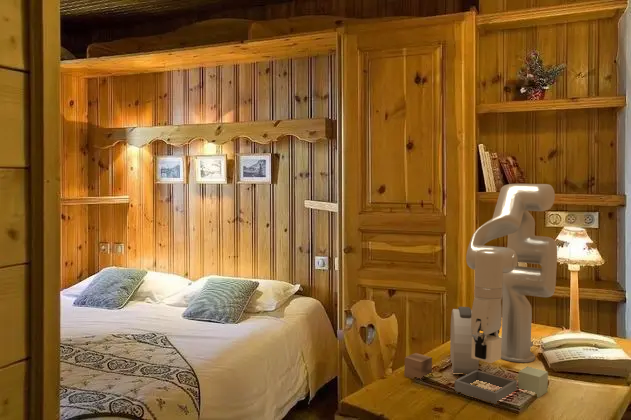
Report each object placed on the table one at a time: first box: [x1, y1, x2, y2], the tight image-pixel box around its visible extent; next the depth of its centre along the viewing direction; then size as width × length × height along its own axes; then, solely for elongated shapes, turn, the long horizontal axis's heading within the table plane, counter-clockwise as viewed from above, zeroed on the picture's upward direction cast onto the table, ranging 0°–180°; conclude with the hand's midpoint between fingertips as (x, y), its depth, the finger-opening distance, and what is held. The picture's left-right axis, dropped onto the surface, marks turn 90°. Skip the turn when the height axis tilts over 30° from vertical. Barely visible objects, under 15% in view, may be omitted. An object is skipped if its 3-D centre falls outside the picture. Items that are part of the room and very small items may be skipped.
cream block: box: [471, 335, 502, 364], centre depth 151 cm, size 6×6×6 cm
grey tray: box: [454, 369, 518, 404], centre depth 152 cm, size 13×13×4 cm
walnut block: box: [404, 352, 433, 380], centre depth 165 cm, size 6×6×6 cm
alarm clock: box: [449, 306, 480, 374], centre depth 172 cm, size 21×8×20 cm, turn 168°
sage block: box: [517, 365, 549, 399], centre depth 153 cm, size 6×6×6 cm
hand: (486, 354), depth 151 cm, fingers closed on cream block, 6 cm apart
